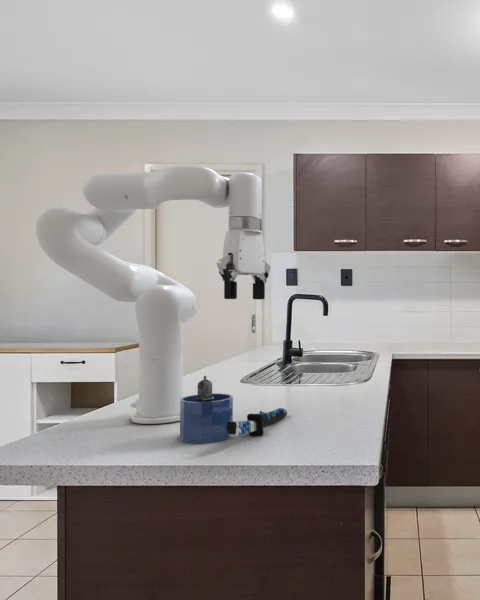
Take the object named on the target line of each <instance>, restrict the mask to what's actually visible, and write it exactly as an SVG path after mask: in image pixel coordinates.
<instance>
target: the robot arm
mask: <svg viewBox="0 0 480 600" xmlns="http://www.w3.org/2000/svg"><path fill="white" fill-rule="evenodd" d="M82 194H83V197H84V198H85V200H86V201H87V203H88V204H90V205H91V206H92V207H90V208H89V210H82V209H79V208H74V207H71V206H67V205H65V206H64V205H55V206H50V207H47V208H45V209H44V210H42V211H41V212H40V213H39V215H37V218H36V222H35V234H36V238H37V241H38V245H39V246H40V248H41V250H42V251H43V253H44V254H45V255H46V256H47V257H48V258H49V259H50V260H51V261H53V262H54V263H55V264H56V265H58V266H59V267H60V268H61V269H64V270H65V271H66V272H68V273H70V274H72V275H74V276H75V277H77V278H79V279H80V280H82V281H83V282H85V283H87V285H90V287H91V286H92V287H93V288H95V289H97V290H98V291H100V292H101V293H103V294H105V295H106V296H108V297H110V298H111V299H112V300H115V301H118V302H123V303H124V302H125V303H135V304H134V305H135V307H134V310H135V317H136V318H135V319H136V324H137V331H138V353H139V354H138V397H137V398H136V400H135V401H132V402H130V407H131V408H135V409H136V412H135V413H134V414H132V415H131V422H132V423H135V424H142V425H159V424H169V423H174V422H180V399H181V398H183V397H184V335H183V330H182V326H181V324H183V323H186V322H188V321H190V320H191V319H192V318H194V316H195V315H196V314H197V311H198V306H199V305H198V300H197V296H196V295H195V294H194V292H193V291H192V290H191V289H189V288H188V287H187V286H185V285H184V284H181V283H180V282H179V281H177V280H175V279H173V278H171V277H169V276H168V275H166V274H165V273H163V272H161V271H159V270H158V269H155V268H154V267H151V266H149V265H146V264H141V263H135V262H129V261H125V260H123V259H121V258H119V257H117V256H115V255H113V254H111V253H109V252H108V251H107V250H105V249H103V248H102V247H100V246H99V245H101V244H103V243H104V242H106V241H107V240H108V239H109V238H110V237H111V236H112V235H113V234H114V233H115V232H117V231H118V230H119V228H121V227H122V226H123V225H124V224H125V223H126V222H127V221H128V220H129V219H130V218H131V217H132V216H133V215H134V213H136V212H137V210H157V209H159V208H160V207H162V205H163V203H165V202H170V201H185V200H186V201H187V200H189V201H190V200H192V201H193V200H194V201H200V202H201V203H204V204H206V205H208V206H210V207H211V208H214V209H215V208H216V209H217V208H218V209H221V208H222V209H223V208H228V230H226V231H225V235H224V236H225V237H224V241H223V248H222V257H221V258H220V259H218V260H217V261H216V266H217V269H218V273H219V275H220V277H221V280H222V282H223V285H224V286H223V298H224V300H236V299H238V281H235V280H236V279H237V277H238V276H251V278H252V280H253V282H252V299H253V300H265V298H266V295H265V292H266V290H265V289H266V285H265V284H266V283H267V279H268V277H269V273H270V271H271V265H270V264H269V263H268V262H266V259H265V258H266V257H265V245H264V243H265V242H264V238H263V231H262V230H263V226H262V225H263V221H262V220H263V219H262V218H263V217H262V216H263V182H262V178H261V177H260V176H259V175H257V174H254V173H250V172H236V173H233V174H231V175H230V176H229V177H225V176H223V175H220V174H219V173H218V172H217V171H215V170H213V169H212V168H209V167H206V166H199V165H198V166H197V165H196V166H193V165H192V166H191V165H190V166H170V167H163V168H161V169H157V170H154V171H152V172H151V171H149V172H111V173H110V172H109V173H108V172H107V173H96V174H93V175H90V176H89V177H88V178H86V179H85V181H83V184H82Z"/></svg>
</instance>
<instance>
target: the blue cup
mask: <svg viewBox="0 0 480 600" xmlns="http://www.w3.org/2000/svg"><path fill="white" fill-rule="evenodd" d="M212 396H213V397H214V399H213V401H211V402H197V400H196V398H197V397H198V394H191V395H186V396H183V398H181V399H180V421H179V440H180V441H181V442H183V443H186V444H210V443H216V442H221V441H226V440H227V439H228V440H229V439H230V438H231V437H232V436H230V435H229V434H228V432H227V430H226V428H227V423H228V422H230V421H234V397H233V394H229V393H220V392H219V393H216V392H215V393H213V392H212Z"/></svg>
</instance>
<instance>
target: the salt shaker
mask: <svg viewBox="0 0 480 600" xmlns="http://www.w3.org/2000/svg"><path fill="white" fill-rule="evenodd" d="M212 393H213V382H212V381H211V380H208V379H207V376H206V375H204V376H203V379H202V380H200V381H198V382H197V395H198V397H197V398H196V400H197V402H211V401H213V399H214V397H213V396H212Z"/></svg>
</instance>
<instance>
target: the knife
mask: <svg viewBox="0 0 480 600" xmlns="http://www.w3.org/2000/svg"><path fill="white" fill-rule="evenodd" d="M287 415H288V411H287V410H286V409H285V408H282V407H279V408H276V409H274V410H271V411H268V412H265V411H262V410H260V411H259V413H248V414H247V415H246V420H238V421H237V420H233V421H230V422H228V423H227V428H226V430H227V432H228V434H229V435H230V436H231V437H239V436H243V435H246V434H248V436H255V437H262V436H263V435H264V434H265V430H264V429H265V428H267V427H269V426H272V425H274V424H277V423H279V422H280V421H282V420H283V419H284V418H286V416H287Z"/></svg>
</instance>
